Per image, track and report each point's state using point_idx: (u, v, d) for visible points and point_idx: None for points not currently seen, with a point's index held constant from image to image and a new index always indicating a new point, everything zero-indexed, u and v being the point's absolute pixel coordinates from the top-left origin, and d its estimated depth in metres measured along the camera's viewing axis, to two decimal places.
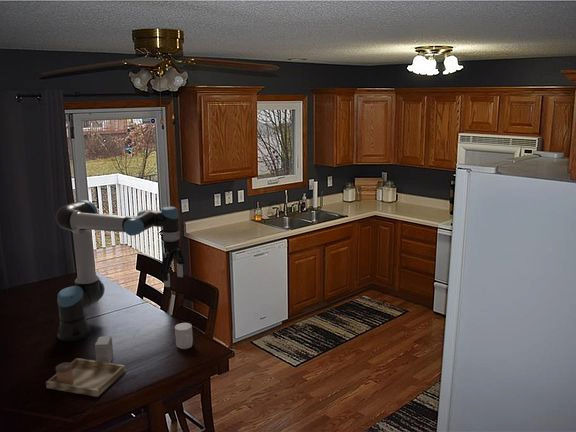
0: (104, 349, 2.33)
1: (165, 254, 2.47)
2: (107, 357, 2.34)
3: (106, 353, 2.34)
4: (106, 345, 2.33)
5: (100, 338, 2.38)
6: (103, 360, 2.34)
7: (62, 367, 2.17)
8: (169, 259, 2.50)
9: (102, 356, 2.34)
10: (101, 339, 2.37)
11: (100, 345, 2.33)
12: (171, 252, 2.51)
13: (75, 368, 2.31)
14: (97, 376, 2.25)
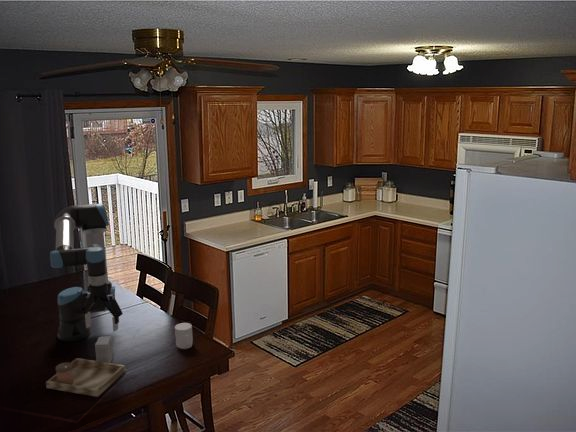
0: (104, 349, 2.33)
1: None
2: (107, 357, 2.34)
3: (106, 353, 2.34)
4: (106, 345, 2.33)
5: (100, 338, 2.38)
6: (103, 360, 2.34)
7: (62, 367, 2.17)
8: (91, 301, 2.32)
9: (102, 356, 2.34)
10: (101, 339, 2.37)
11: (100, 345, 2.33)
12: (92, 295, 2.31)
13: (75, 368, 2.31)
14: (97, 376, 2.25)
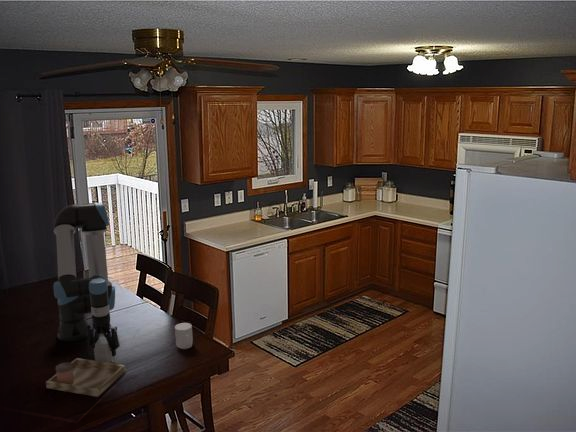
0: (104, 349, 2.33)
1: None
2: (107, 357, 2.34)
3: (106, 353, 2.34)
4: (106, 345, 2.33)
5: (100, 338, 2.38)
6: (103, 360, 2.34)
7: (62, 367, 2.17)
8: None
9: (102, 356, 2.34)
10: (101, 339, 2.37)
11: (100, 345, 2.33)
12: (94, 325, 2.34)
13: (75, 368, 2.31)
14: (97, 376, 2.25)
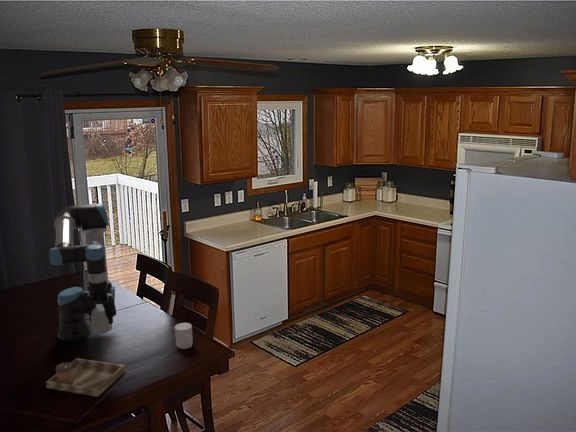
0: (100, 316, 2.30)
1: None
2: (104, 325, 2.31)
3: (103, 320, 2.30)
4: (103, 312, 2.29)
5: (97, 306, 2.34)
6: (100, 328, 2.31)
7: (62, 367, 2.17)
8: None
9: (99, 323, 2.30)
10: (97, 306, 2.34)
11: (97, 312, 2.29)
12: (91, 292, 2.30)
13: (75, 368, 2.31)
14: (97, 376, 2.25)
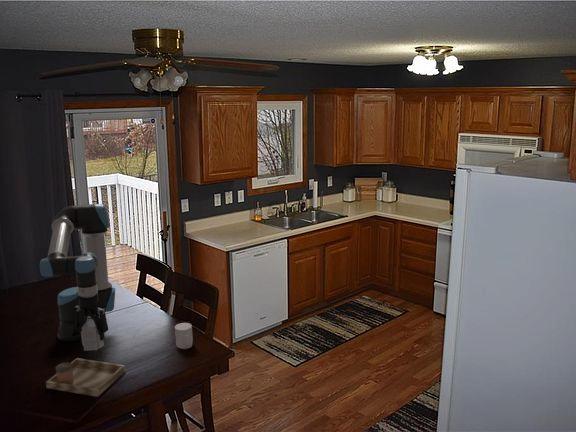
0: (91, 332, 2.17)
1: None
2: (95, 341, 2.18)
3: (94, 337, 2.17)
4: (94, 328, 2.17)
5: (88, 321, 2.22)
6: (91, 344, 2.18)
7: (62, 367, 2.17)
8: None
9: (90, 340, 2.18)
10: (88, 321, 2.21)
11: (87, 328, 2.16)
12: (81, 307, 2.18)
13: (75, 368, 2.31)
14: (97, 376, 2.25)
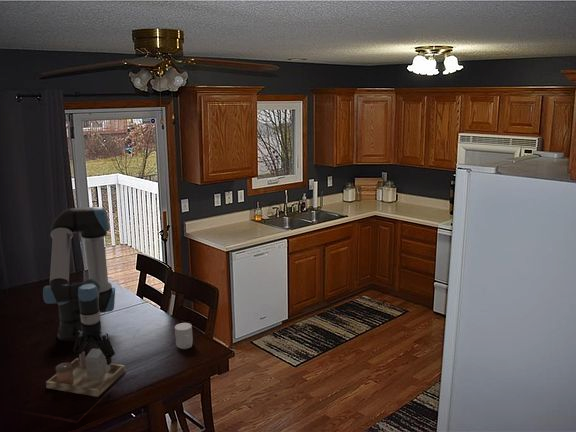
0: (94, 363, 2.20)
1: None
2: (98, 371, 2.21)
3: (97, 367, 2.21)
4: (96, 359, 2.20)
5: (92, 350, 2.25)
6: (93, 374, 2.22)
7: (62, 367, 2.17)
8: None
9: (92, 370, 2.21)
10: (92, 351, 2.25)
11: (90, 358, 2.20)
12: (84, 333, 2.21)
13: (75, 368, 2.31)
14: None
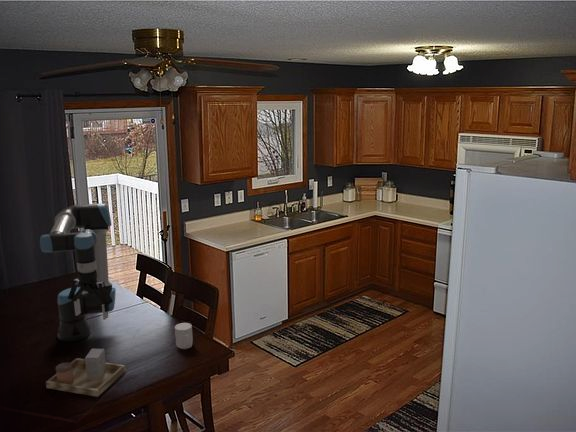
0: (94, 363, 2.20)
1: None
2: (98, 371, 2.21)
3: (97, 367, 2.21)
4: (96, 359, 2.20)
5: (92, 350, 2.25)
6: (93, 374, 2.22)
7: (62, 367, 2.17)
8: None
9: (92, 370, 2.21)
10: (92, 351, 2.25)
11: (90, 358, 2.20)
12: (81, 282, 2.24)
13: (75, 368, 2.31)
14: None
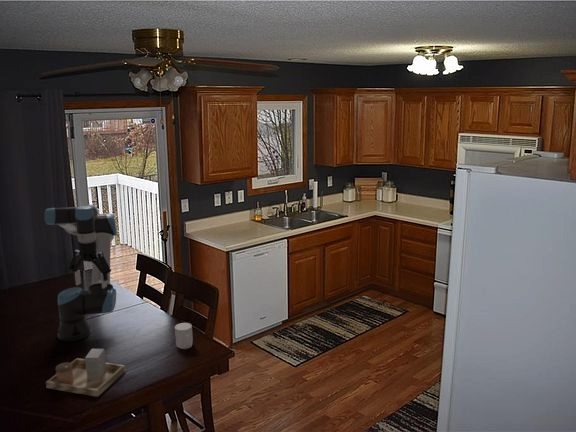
0: (94, 363, 2.20)
1: None
2: (98, 371, 2.21)
3: (97, 367, 2.21)
4: (96, 359, 2.20)
5: (92, 350, 2.25)
6: (93, 374, 2.22)
7: (62, 367, 2.17)
8: None
9: (92, 370, 2.21)
10: (92, 351, 2.25)
11: (90, 358, 2.20)
12: (81, 253, 2.38)
13: (75, 368, 2.31)
14: None
